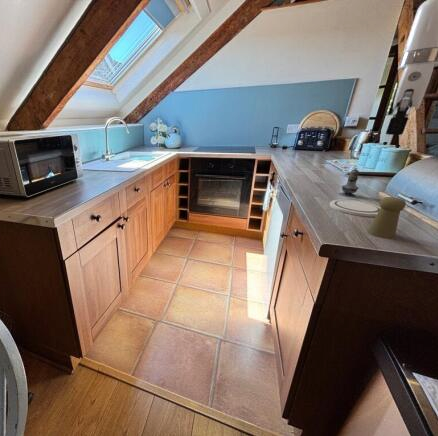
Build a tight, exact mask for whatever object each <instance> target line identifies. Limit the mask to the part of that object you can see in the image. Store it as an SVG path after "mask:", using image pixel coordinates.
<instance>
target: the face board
mask: <svg viewBox="0 0 438 436" xmlns="http://www.w3.org/2000/svg"><path fill="white" fill-rule="evenodd" d="M329 207H330V208H332V209H333V210H335V211H338V212H341V213H345V214H348V215H353V216H360V217H369V218H370V217H371V218H375V217H376V215H377V213H378V212H379V210H380V208H381V207H380V205H376V204H374V203H369V202H365V201H361V200H353V199H333V200H331V201H330V202H329Z"/></svg>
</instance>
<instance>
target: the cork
mask: <svg viewBox="0 0 438 436" xmlns="http://www.w3.org/2000/svg"><path fill="white" fill-rule="evenodd" d="M406 206H407V203H406V201H405V200H404V199H403V198H400V197H394V196H385V197H383V198H382V199H381V200H379V207H381V208H380V210H379V212H378V213H377V215H376V217H373V218H374V219H373V220H372V222H371V224H370V225H369V227H368V229H367V233H368V234H371V235H373V236H375V237H379V238H382V239H394V238H395V237H396V235H397V234H396V233H397V228H398V224H399V219H400V214H401V211H403V210H404V209H405V208H406Z"/></svg>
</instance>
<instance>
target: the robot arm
mask: <svg viewBox="0 0 438 436" xmlns="http://www.w3.org/2000/svg"><path fill="white" fill-rule="evenodd" d="M409 30H410V31H409V34H408V36H407V39H406V43H405V45H404V49H403V52H402V55H401V58H400V60H399V64H398V67H397V70H398V71H399V70H400V71H402V74H401V75H400V79H399V83H398V85H397V89H396V92H395V95H394V99H393V105H392V110H394V112H393V115H392V117H391V118H390V120H389V123H388V126H387V129H386V132H385V135H389V136H390V135H391V136H393V135H395V136H402V135H403V134H404V132H405V128H406V126H407V123H408V122H409V115H410V112H411V111H412V108H414V111H416V110H419V109H420V107H421V104H422V102H423V99H424V97H425V95H426V92H427V88H428V87H429V83H430V81H431V77H432V74H433V72H434V68H435V67H438V0H425V1H424V2H422V3H421V4H420V5H419V7H418V8H417V10H416V12H415V15H414V18H413V22H412V25H411V28H410V29H409Z"/></svg>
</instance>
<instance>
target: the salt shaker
mask: <svg viewBox="0 0 438 436" xmlns="http://www.w3.org/2000/svg"><path fill="white" fill-rule="evenodd" d="M359 174H360V171H359V170H358V169H357V167H354V169H351V170H350V172H349V176H348V177H347V182H346V184H344V185H341V190H342V192H340V195H341V196H343V197H349V198H354V197H356V194H355V193H356V192H357V191H358V190H359V187H358V186H357V181H358V180H359V178H358V177H359Z"/></svg>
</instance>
